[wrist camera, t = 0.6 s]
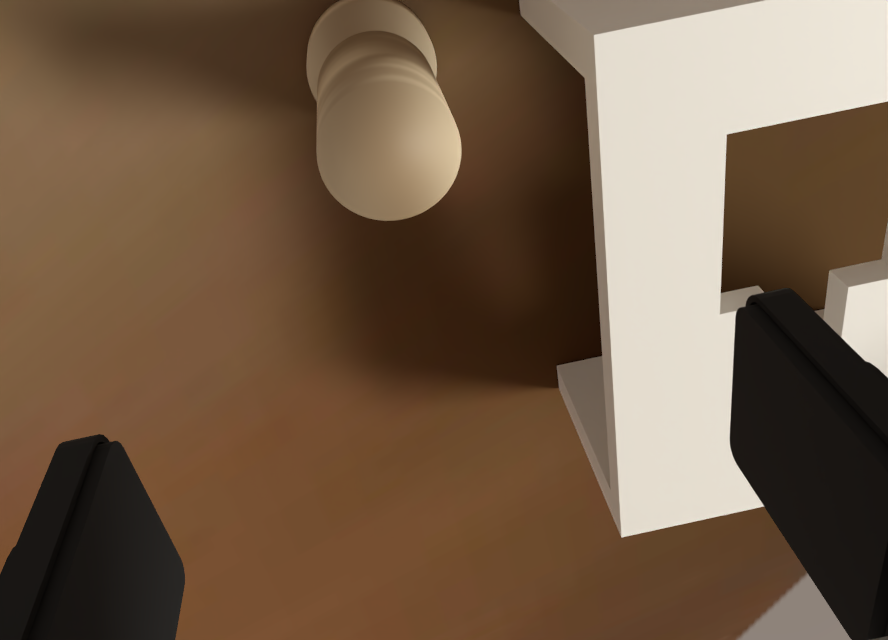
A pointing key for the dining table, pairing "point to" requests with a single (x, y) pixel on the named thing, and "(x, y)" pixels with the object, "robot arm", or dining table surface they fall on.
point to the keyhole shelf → (694, 223)
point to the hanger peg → (380, 110)
